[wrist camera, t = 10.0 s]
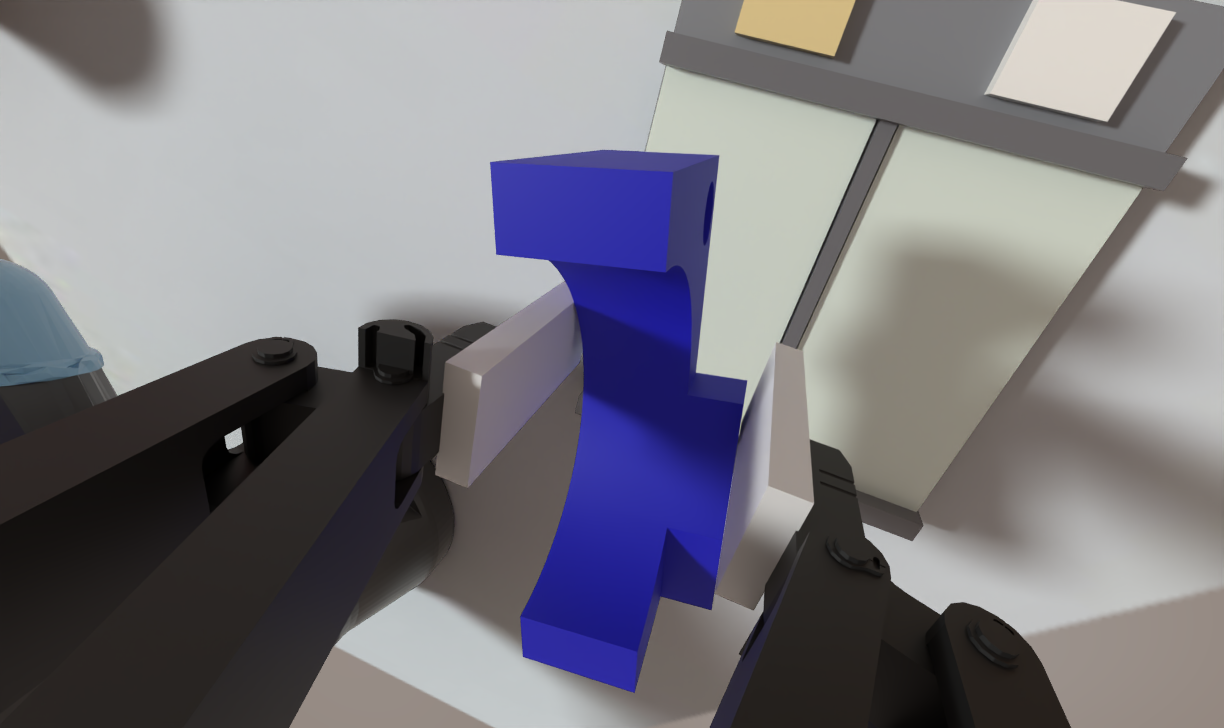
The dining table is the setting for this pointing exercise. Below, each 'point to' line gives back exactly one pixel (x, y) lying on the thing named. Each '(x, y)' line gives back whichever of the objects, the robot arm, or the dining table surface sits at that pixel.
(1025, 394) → the dining table surface
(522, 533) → the dining table surface
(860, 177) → the board
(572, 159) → the cable clip
